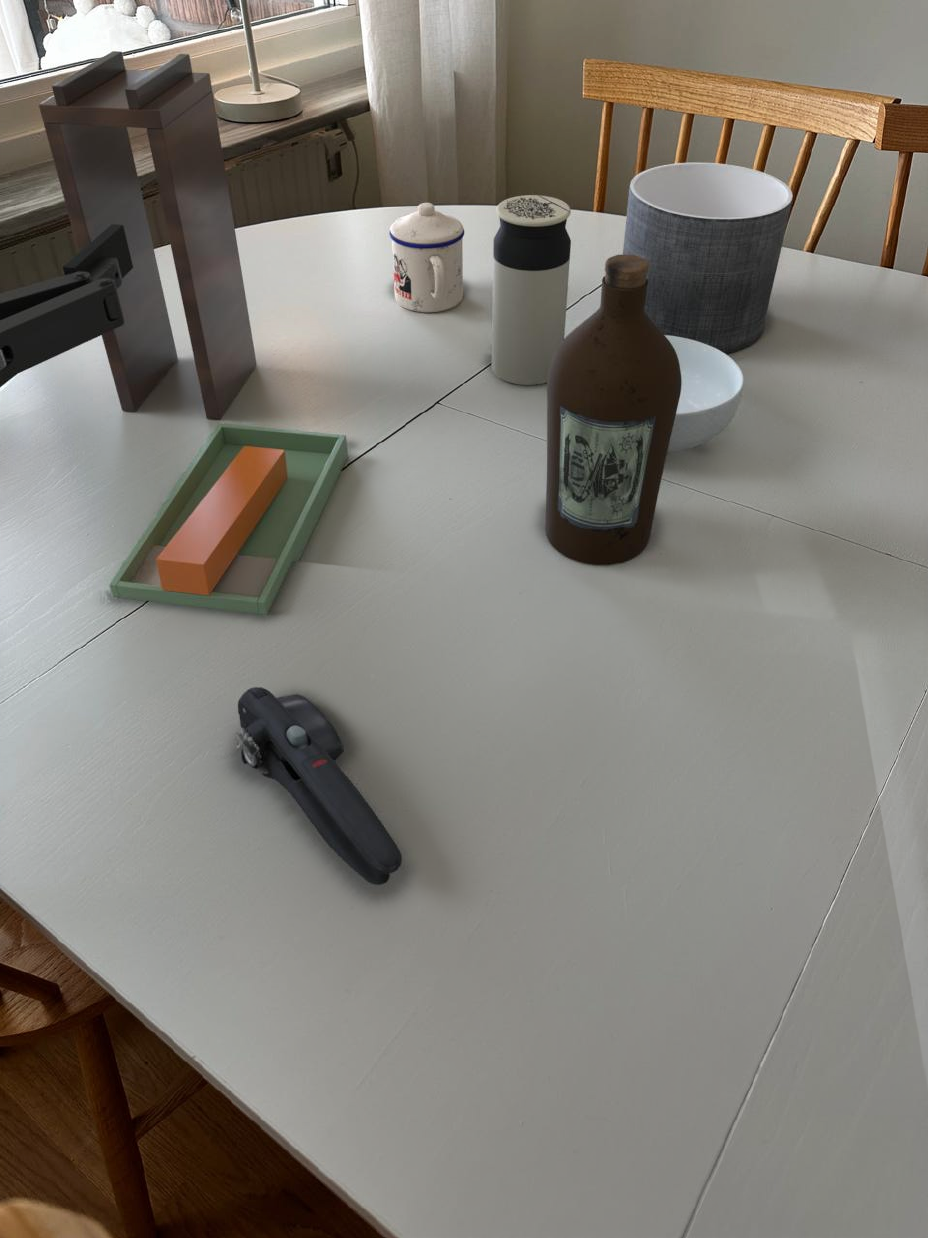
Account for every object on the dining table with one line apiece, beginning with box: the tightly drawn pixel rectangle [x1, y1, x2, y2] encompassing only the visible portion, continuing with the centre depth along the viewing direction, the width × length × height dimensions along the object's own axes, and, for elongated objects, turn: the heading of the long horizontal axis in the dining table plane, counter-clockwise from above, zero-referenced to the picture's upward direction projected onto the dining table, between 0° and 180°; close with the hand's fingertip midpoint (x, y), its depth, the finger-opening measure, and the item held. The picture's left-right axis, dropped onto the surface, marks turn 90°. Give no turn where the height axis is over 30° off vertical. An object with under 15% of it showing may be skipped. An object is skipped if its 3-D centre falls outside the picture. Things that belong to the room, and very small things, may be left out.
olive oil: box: [544, 253, 682, 566], centre depth 80 cm, size 11×11×25 cm
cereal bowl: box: [665, 335, 745, 453], centre depth 98 cm, size 17×17×7 cm
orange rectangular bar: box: [155, 446, 288, 595], centre depth 86 cm, size 4×20×3 cm, turn 170°
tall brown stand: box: [38, 50, 258, 421], centre depth 97 cm, size 11×12×32 cm
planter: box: [622, 162, 794, 354], centre depth 114 cm, size 18×18×16 cm
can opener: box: [234, 686, 403, 886], centre depth 64 cm, size 18×7×6 cm, turn 35°
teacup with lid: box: [389, 202, 465, 313], centre depth 119 cm, size 12×9×12 cm
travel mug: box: [491, 194, 572, 386], centre depth 104 cm, size 8×8×18 cm
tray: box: [109, 422, 349, 616], centre depth 89 cm, size 13×25×2 cm, turn 170°
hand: (22, 238), depth 62 cm, fingers open, 13 cm apart
